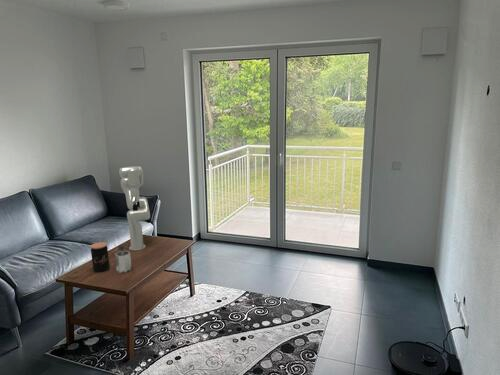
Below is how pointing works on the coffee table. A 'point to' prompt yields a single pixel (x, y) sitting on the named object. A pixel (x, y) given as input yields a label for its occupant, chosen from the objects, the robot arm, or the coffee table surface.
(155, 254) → the coffee table surface
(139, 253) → the coffee table surface
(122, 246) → the plunger
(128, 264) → the press carafe
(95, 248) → the coffee jar
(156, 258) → the coffee table surface
